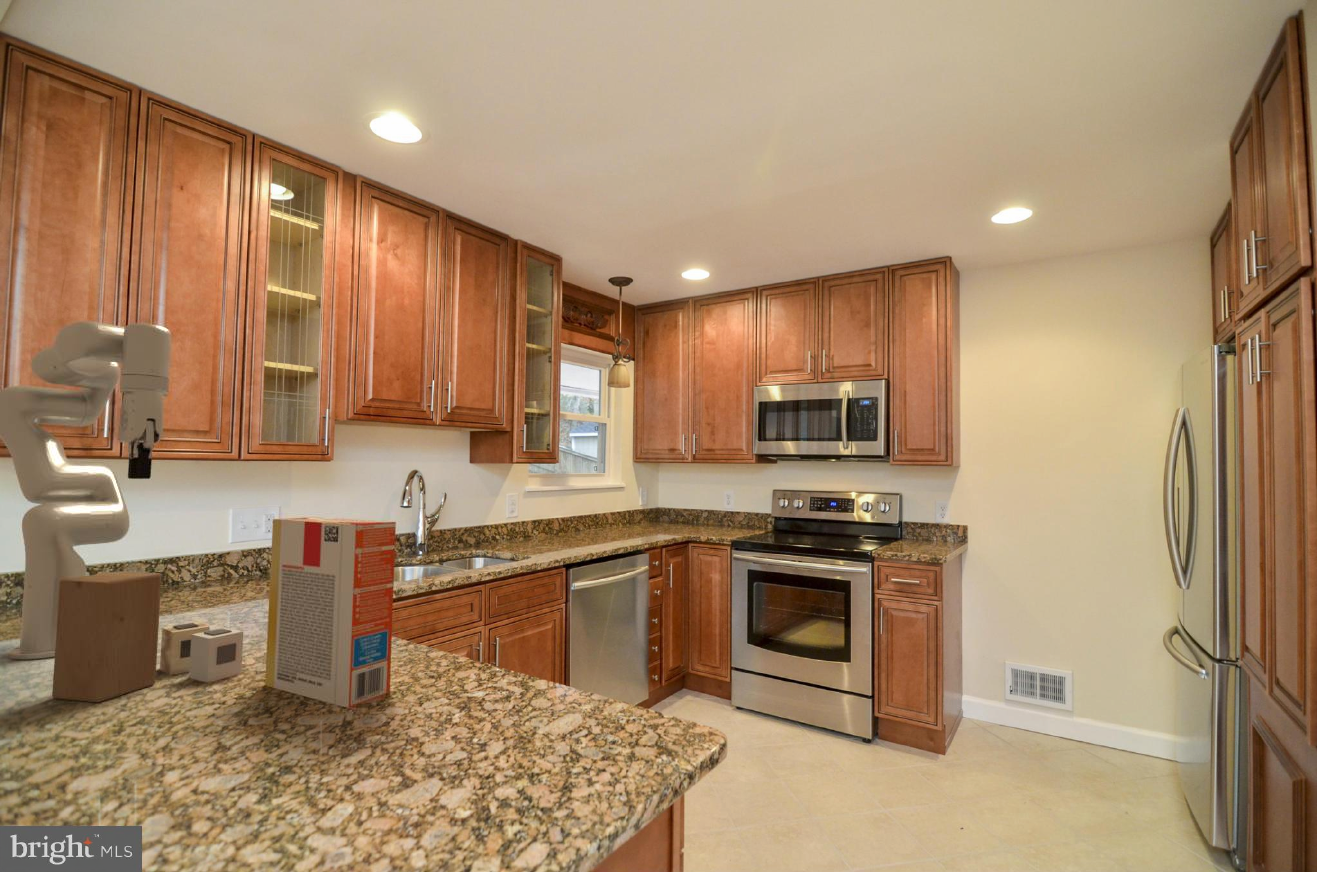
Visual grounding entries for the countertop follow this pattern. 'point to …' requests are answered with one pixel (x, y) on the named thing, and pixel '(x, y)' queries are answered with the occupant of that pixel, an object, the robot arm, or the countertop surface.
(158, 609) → the wooden block
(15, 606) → the countertop surface
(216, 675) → the marked grey block
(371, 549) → the pasta box
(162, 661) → the marked beech block
